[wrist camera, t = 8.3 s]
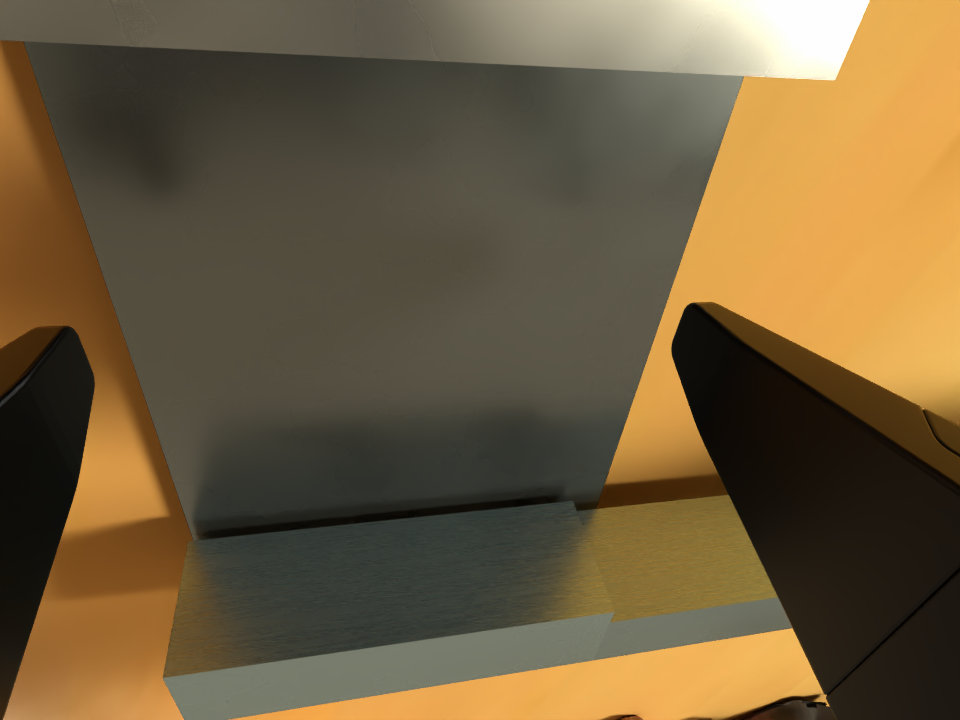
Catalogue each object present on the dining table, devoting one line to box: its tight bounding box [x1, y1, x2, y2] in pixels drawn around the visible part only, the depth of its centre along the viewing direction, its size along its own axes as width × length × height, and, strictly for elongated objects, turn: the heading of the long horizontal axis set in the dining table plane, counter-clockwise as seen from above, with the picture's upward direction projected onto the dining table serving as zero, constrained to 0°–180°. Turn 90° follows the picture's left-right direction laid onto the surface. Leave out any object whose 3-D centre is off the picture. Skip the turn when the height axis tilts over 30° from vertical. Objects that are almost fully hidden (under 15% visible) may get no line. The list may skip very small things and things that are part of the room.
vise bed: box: [23, 41, 744, 541], centre depth 13 cm, size 11×16×1 cm
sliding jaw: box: [163, 495, 792, 720], centre depth 17 cm, size 18×2×3 cm, turn 85°
